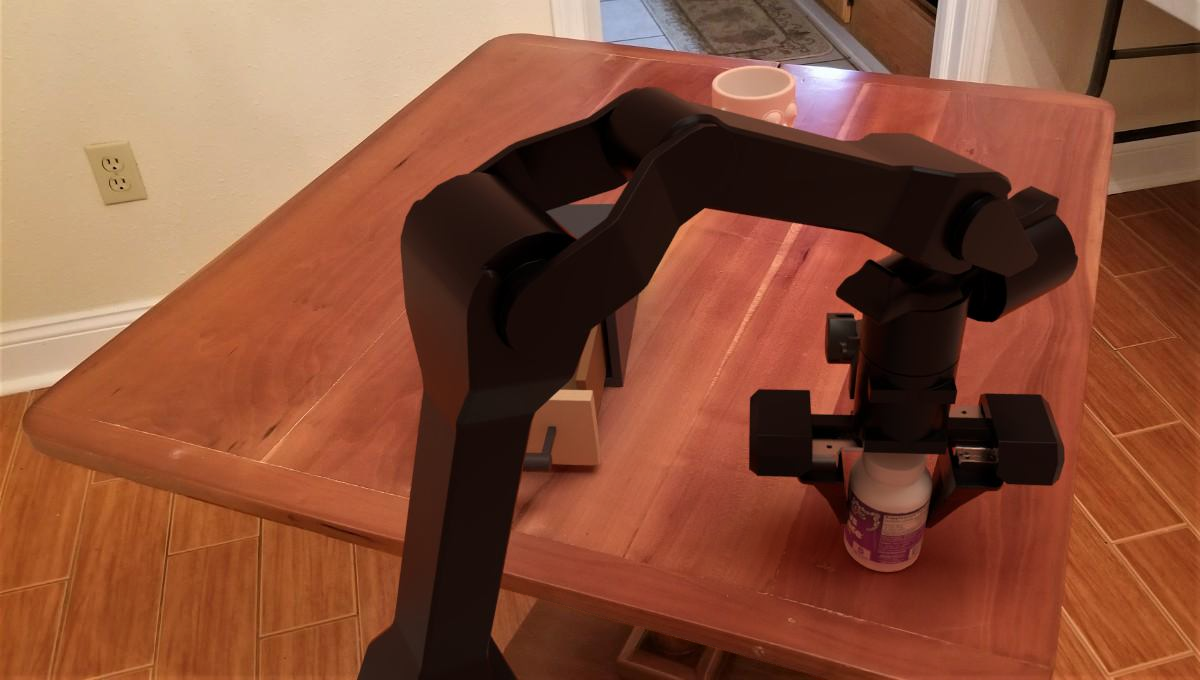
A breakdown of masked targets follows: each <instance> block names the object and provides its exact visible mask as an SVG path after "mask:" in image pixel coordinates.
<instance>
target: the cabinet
mask: <svg viewBox="0 0 1200 680" xmlns="http://www.w3.org/2000/svg"><path fill="white" fill-rule="evenodd" d="M614 205H615V203H576V204H575V203H571V204H567V205H564V206H561V207H558V208H555V209H552V210H549V211H546V213H548V214H549V215H550V216H551V217H552V218H554V219H555V220H556V221H557V222H558V223H560V224H561V225H562V226H563V227H565V228H566V229H567V230H568V231H569V232H571V233H572V234H573V235H574V236H575V237H577V238H578V239H579V238H580V237H581V236H583V235H584V234H586V233H587V232H588V231H590V230H591V229H592V228H594V227H595V226H597V225H598V224H599V223H601V222H602V221H604V220H605V219H606V218H607V216H608V215H609V213H610V211H611V210H612V208H613V206H614ZM639 297H640V293H639V294H638V295H637V296H635V297H634V298H633V299H631V300H630V301H629V302H627V303H626V304H625V305H623V306H622V307H621V308H619V309H618V310H617V311H615V312H614V313H613V314H611V315H610V316H609V317H607V318H606V326H607V335H608V344H609V353H610V357H609V362H608V367H607V372H606V377H605V382H604V387H624V384H625V383H624V382H625V376H626V371H627V365H628V361H629V355H630V349H631V344H632V343H631V342H632V336H633V332H634V326H635V321H636V314H637V309H638V304H639V303H638V302H639Z"/></svg>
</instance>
